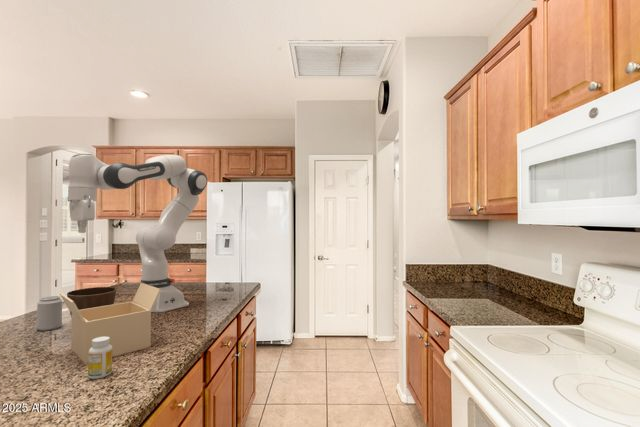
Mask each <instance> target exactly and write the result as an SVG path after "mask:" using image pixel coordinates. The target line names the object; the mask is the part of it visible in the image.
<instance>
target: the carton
mask: <svg viewBox="0 0 640 427" xmlns="http://www.w3.org/2000/svg"><path fill="white" fill-rule="evenodd" d="M79 311H80V313H81V315H82V316H83V318H84V320H85V322H83V321H81V320H80V319H79V318H78V317H76V316H75V315H74V314H73V313H72V318H71V322H70V323H71V324H70V327H71V330H70V333H71V335H70V336H71V337H70V349H71V350H72V351H73V352H74V353H75V354H76V355H77V357H78V358H79V359H80V360H81V361H82V362H83V364H84V365H87V364H88V358H89V350H90V348H92V347H93V346H92V340H93V339H95V338H98V337H104V336H106V337H110V342H109V344H110V345H111V346H112V358H113V357H117V356H121V355H124V354H129V353H132V352H136V351H139V350H144V349H147V348H151V347H152V346H151V343H152V340H151V338H152V337H151V336H152V330H151V329H152V312H151V310H150V309H147V308H145V307H143V306H141V305H139V304H138V303H135V302H133V300H132V301H126V302H120V303H114V304H113V305H106V306H100V307H94V308H88V309H82V310H79Z"/></svg>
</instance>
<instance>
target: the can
mask: <svg viewBox="0 0 640 427" xmlns="http://www.w3.org/2000/svg"><path fill="white" fill-rule="evenodd" d="M36 304H37V306H36V307H37V308H36V310H37V311H36V312H37V313H36V329H37V330H39V331H43V332H45V331H47V332H48V331H52V330H57V329H59V328H60V327H61V326H62V322H63V320H62V319H63V299H62V298H61V295H60V296H59V295H52V296H50V295H49V296H45V297H41V298H40V299H39V301H37V303H36Z"/></svg>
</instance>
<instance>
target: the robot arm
mask: <svg viewBox="0 0 640 427" xmlns="http://www.w3.org/2000/svg"><path fill="white" fill-rule="evenodd" d="M68 178H69V179H68V180H69V183H68V187H67V188H68V191H67V192H68V193H67V202H69V217H70V221H72V222H73V221H76V225H77V227H78V228H77V232H78V233H80V234H85V233H86V232H87V224H88V221H94V220H95V218H96V208H95V202H97V199H98V196H97V195H98V189H99V190H104V191H105V190H107V191H108V190H124V189H125V190H126V189H128V188H131V186H133V185H134V184H136V183H137V182H140V181H144V180H148V179H150V180H152V181H161V180H166V181H167V182H168V184H169V185H170V186H172V187H173V188H175V189H179V190H178V193H177V194H176V196H175V197H173V198H172V199H171V201H170V202H169V203H168V204H167V205H166V207H165V208H164V209H163V210H162V211H161V212H160V217H159V219H158V221H157V222H156V224H154V225H153V226H145V227H143V228H141V229H139V230H138V231H137V233H136V234H135V240H136V244H137V245H138V250H139V255H140V260H141V279H140V284H141V283H144V284H147V285H150V286H153V287H156V288H159V289H161V291H160V293H159V295H158V297H157V300H156V302H155V304H154V306H153V308H152V310H151V309H150V310H151V313H165V312H169V311H172V310H176V309H182V308H184V307H189V306H190V303H189V301H187V300H185V297H184V293H183V292H182V291H181V290H179V289H178V288H177V287H175V285H172V284H174V283H175V282H176V279H175V278H170V277H168V272H169V271H168V270H169V266H168V265H169V262H168V260H167V257H166V254H165V250H168V249H170V248H172V247H173V246H174V245H175V243H176V242H177V241H176V239H177V234H178V232H179V230H180V229H181V227H182V225H183V223H184V222H185V221H186V220H187V219H188V218H189V216H190V215H191V214H192V213H193V211H194V209H196V206H197V205H198V203H199V201H200V197H199V195H201V194H202V193H203V191H204V190H205V189H206V187H207V185H208V177H207V174H205V173H204V172H203V171H201V170H196V169H193V168H189V167H188V168H187V163H186V160H185V158H183V156H181V155H178V154H162V155H156V156H153V157H149V158H148V159H146V161H145V162H144V163H140V164H136V165H135V164H133V165H132V164H128V163H124V162H116V163H113V164H112V163H111V164H107V163H105V162H103V161H102V160H100V158H99V159H98V157H97V156H96V155H95V154H92V153H79V154H74V155H72V156H71V158H70V161H69V163H68ZM140 284H139V285H140ZM139 305H140V304H139ZM141 306H142V305H141ZM143 307H144V306H143ZM145 308H146V307H145ZM147 309H149V308H147Z"/></svg>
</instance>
